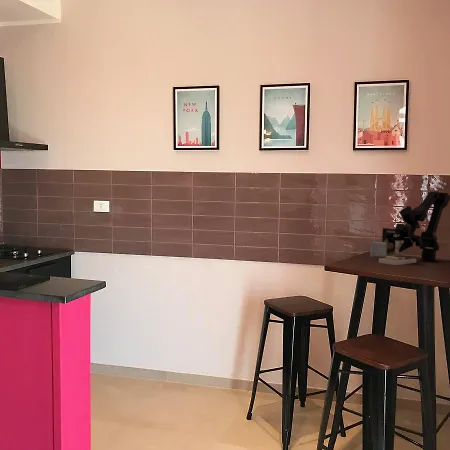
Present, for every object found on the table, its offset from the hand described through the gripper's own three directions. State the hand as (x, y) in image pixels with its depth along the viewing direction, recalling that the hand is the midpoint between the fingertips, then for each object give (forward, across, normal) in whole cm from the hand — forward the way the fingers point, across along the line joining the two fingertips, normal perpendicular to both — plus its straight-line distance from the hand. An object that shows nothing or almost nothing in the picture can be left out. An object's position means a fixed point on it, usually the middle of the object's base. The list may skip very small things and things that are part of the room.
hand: (396, 251), depth 265 cm
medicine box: (-5, -20, +16) cm, 26 cm away
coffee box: (-14, -21, +24) cm, 35 cm away
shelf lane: (+4, 0, +6) cm, 7 cm away
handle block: (+4, 0, +4) cm, 6 cm away
